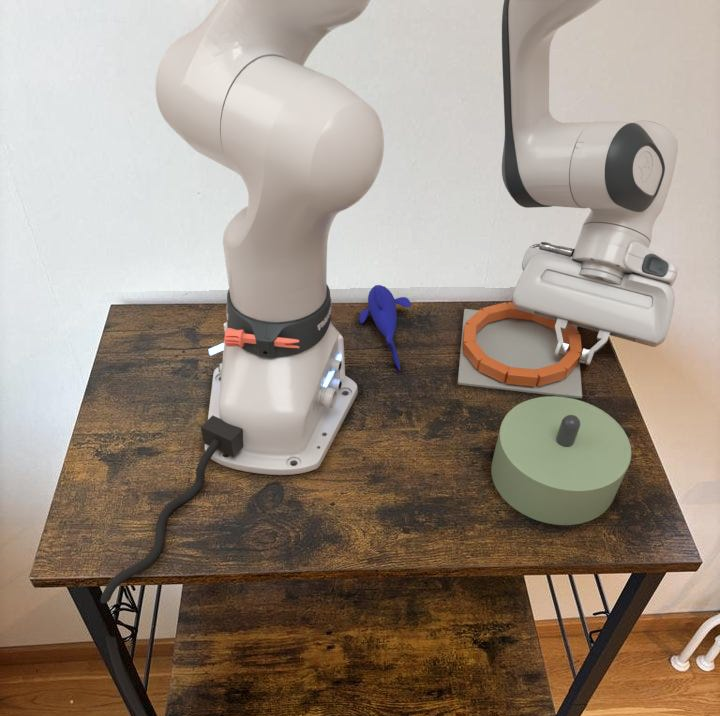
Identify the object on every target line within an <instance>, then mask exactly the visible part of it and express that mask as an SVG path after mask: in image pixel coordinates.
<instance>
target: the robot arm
mask: <svg viewBox="0 0 720 716" xmlns="http://www.w3.org/2000/svg"><path fill="white" fill-rule="evenodd" d="M601 1H602V0H503V5H502V15H501V61H502V63H501V64H502V83H503V84H502V87H503V89H502V90H503V91H502V92H503V116H504V117H503V118H504V139H503V140H504V141H503V148H502V157H501V178H502V181H503V185H504V187H505V189H506V190H507V192H508V194H509V195H510V197H511V198H512V199H513V201H514V202H515V203H516V204H517V205H518V206H520V207H523V208H527V209H531V208H532V209H533V208H552V207H561V208H574V209H590V212H589V214H588V216H586V219H585V220H584V222H583V223H582V227H581V230H580V232H579V235H578V238H577V240H576V243H575V247H574V248H572V247H567V246H563V245H556V244H552V243H550V242H546V241H540V243H536V244H532V245H530V246H529V247H528V248H527V249H526V251H525V253H524V256H523V259H522V262H521V270H522V272H521V274H520V276H519V278H518V281H517V283H516V285H515V288H514V290H513V292H512V295H511V302H513V304H514V306H515V308H516V309H517V310H520V311H524V312H528V313H531V314H535V315H539V316H542V317H546V318H550V319H553V320H557V321H556V324H555V331H556V336H557V341H558V344H557V347H556V350H555V353H554V356H557V357H561V358H563V357H564V356H565V355H566V354H567V353H566V352H567V351H568V349H569V344H567V343H563V337H562V332H561V330H562V331H566V328H567V325H568V324H571V325H575V326H577V327H579V328H582V329H585V330H586V329H587V330H588V331H589V330H590V331H593V332H597V336H596V341H597V343H595V344H594V345H593V346H592V347H590V349H587V348H583V347H582V354H581V357H580V359H579V363H580V364H582V365H584V366H590V365H591V362H592V360H593V358H594V354H596V353H597V352H598V351H600V350H601V349H602V348H603V347H604V346H605V345H606V344H607V343H608V341H609V337H610V336H612V337H615V338H619V339H622V340H627V341H630V342H633V343H637V344H640V345H644V346H648V347H651V348H656V347H659V346H660V345H661V344H663V343H664V342H665V340H666V337H667V335H668V332H669V329H670V326H671V322H672V318H673V314H674V313H673V312H674V308H675V301H676V297H675V292H674V289H673V288H672V287H673V285H674V284H675V282H676V279H677V276H678V267H677V266H676V265H675V263H674V262H671V260H668V259H667V258H665V257H663V256H662V255H660V254H658V253H657V252H655V251H654V250H652V249H650V245H651V242H652V237H653V236H652V235H653V234H652V233H653V228H654V224H655V222H656V221H657V219H658V217H659V216H660V214H661V212H662V211H663V208H664V207H665V203H666V200H667V197H668V194H669V191H670V187H671V183H672V180H673V176H674V172H675V168H676V163H677V158H678V157H677V156H678V149H679V148H678V147H679V146H678V145H679V144H678V140H677V138H676V136H675V135H674V133H673V132H672V131H671V130H670V129H668V127H666V126H665V125H662V124H660V123H657V122H654V121H650V120H636V121H632V122H630V121H623V120H620V121H619V120H616V121H615V120H614V121H612V120H609V121H602V120H601V121H591V122H589V121H587V122H561V121H559V120H557V119H556V118H554V117H553V116H552V114H551V112H550V51H551V45H552V41H553V38H554V37H555V34H556V33H557V32H558V31H559V29H560V28H562V27H563V26H565V25H566V24H568V23H570V22H572V21H573V20H575V19H576V18H578V17H579V16H582V14H584V13H586V12H588V11H589V10H591V9H592V8H594V7H595V6H596V5H597V4H598V3H600V2H601ZM370 2H371V0H218V2H217V3H216V5H215V6H214V7H213V9H212V10H211V11H210V12H209V14H208V15H207V16H206V17H205V19H204V20H203V21H202V22H201V23H200V24H199V25H198V26H196V27H195V28H194V29H193V30H191V31H190V32H188V33H186V34H184V35H183V36H181V37H179V38H178V39H176V40H174V42H172V43H171V44H170V46H169V47H168V48H167V49H166V51H165V52H164V54H163V56H162V58H161V60H160V61H159V65H158V68H157V72H156V76H155V97H156V102H157V106H158V109H159V112H160V114H161V116H162V118H163V119H164V121H165V122H166V123H167V124H168V126H169V127H170V128H171V129H172V130H173V131H174V132H175V133H176V134H177V136H179V137H180V139H182V140H183V141H184V142H185V143H186V144H187V145H189V146H190V147H191V148H192V150H194V151H196V152H197V153H198V154H200V155H202V156H204V157H206V158H208V159H210V160H212V161H213V162H215V163H218V164H219V165H221V166H223V167H225V168H227V169H229V170H230V171H233V172H234V173H236V174H237V175H238V176H240V178H241V179H242V181H243V183H244V184H245V187H246V190H247V194H248V195H247V196H248V201H247V206H245V207H243V208H242V209H241V210H240V211H238V212H237V213H236V214H235V215H233V217H232V219H231V220H230V221H229V222H228V224H227V225H226V227H225V229H224V232H223V237H222V245H223V253H224V261H225V268H226V276H227V283H228V290H227V293H226V306H225V312H226V313H225V314H226V322H224V323H223V329H224V340H223V342H222V343H220V344H218V345H215V346H212V347H210V348H208V355H210V356H213V355H215V354H217V353H220V352H222V362H221V363H219V365H218V366H217V367H216V368H215V369H214V371H213V373H212V374H213V375H212V381H211V382H212V383H211V390H210V399H209V400H210V401H209V407H208V415H207V420H206V421H205V422H204V423H203V424H202V425H201V426H200V429H201V434H202V439H203V444H204V452H203V454H202V456H201V458H200V460H199V461H198V464H197V466H196V470H195V471H196V472H195V481H194V483H193V484H192V486H191V487H190V488H189V489H187V491H186V492H184V493H182V494H181V495H179V496H178V497H176V498H174V499H173V500H171V501H170V502H169V503H168V504H166V505H165V506H164V508H162V510H161V512H160V514H159V515H158V518H157V520H156V526H155V539H154V544H153V546H152V548H151V550H150V552H149V553H148V554H147V555H146V556H145V558H143V559H142V560H140V561H139V562H137V563H135V564H133V565H131V566H129V567H127V568H125V569H123V570H122V571H120V572H119V573H118V574H116V575H115V576H113V577H112V578H111V580H109V582H108V583H107V584H106V586H105V588H104V590H103V592H102V594H101V596H100V600H99V601H100V603H101V604H108V602H110V600H111V598H112V596H113V594H114V593H115V591H116V590H117V588H118V587H119V586H120V585H121V584H122V583H124V582H125V581H127V580H129V579H130V578H131V577H134V576H135V575H137V574H139V573H141V572H143V571H145V570H146V569H147V568H149V567H150V566H152V564H154V563H155V562H156V560H157V559H158V558H159V557H160V555H161V553H162V551H163V550H164V549H163V548H164V544H165V536H166V534H165V533H166V526H167V525H166V524H167V521H168V519H169V517H170V515H171V514H172V513H173V512H174V511H175V510H177V508H179V507H180V506H182V505H184V504H185V503H188V502H189V501H190V500H191V499H193V498H194V497H196V495H198V493H199V491H201V489H202V488H203V486H204V484H205V473H206V469H207V466H208V464H209V462H210V460H212V461H213V462H215V463H217V464H219V465H221V466H223V467H225V468H229V469H233V470H236V471H241V472H246V473H253V474H259V475H268V476H269V475H272V476H291V475H299V474H305V473H308V472H312V471H315V470H318V469H319V468H320V466H321V465H322V463H323V461H324V459H325V458H326V455H327V454H328V452H329V449H330V448H331V446H332V444H333V442H334V440H335V438H336V437H337V434H338V433H339V430H340V429H341V427H342V425H343V423H344V421H345V419H346V417H347V416H348V414H349V412H350V409H352V408H351V407H352V406H353V404H354V402H355V400H356V399H357V396H358V394H359V389H358V388H359V387H358V384H357V382H356V381H354V380H353V379H352V378H350V377H349V376H347V375H346V365H345V364H346V363H345V345H344V344H345V343H344V337H343V336H342V334H341V333H340V332H339V330H338V329H337V328H336V327H335V326H334V324H333V323H332V321H331V320H332V311H333V310H332V308H333V302H332V297H331V290H330V287H329V285H328V283H327V279H328V278H327V270H328V269H327V268H328V267H327V266H328V265H327V264H328V263H327V262H328V241H329V234H330V230H331V227H332V224H333V222H334V220H335V218H336V217H337V215H338V214H339V213H341V212H343V211H346V210H348V209H350V208H351V207H352V206H354V205H356V204H357V203H358V202H360V201H361V200H362V199H363V198H364V196H365V195H367V193H368V192H369V191H370V189H371V188H372V187H373V185H374V183H375V182H376V179H377V177H378V175H379V173H380V171H381V167H382V163H383V159H384V151H385V134H384V130H383V125H382V120H381V119H380V116H379V114H378V112H377V111H376V109H374V108H373V106H371V105H370V104H369V103H368V102H366V101H365V100H364V99H363V98H362V97H360V96H359V95H358V94H356V93H355V92H354V91H352V89H350V88H348V87H347V86H346V85H344V84H343V83H342V82H341V81H339V80H338V79H336V78H335V77H331V76H329V75H326V74H324V73H323V72H320V71H317V70H314V69H312V68H310V67H307V66H305V64H306V62H307V60H308V59H309V57H310V55H311V54H312V52H313V51H314V49H315V48H316V47H317V46H318V44H319V43H320V42H321V41H322V40H323V39H324V38H325V37H326V36H327V35H329V33H331V32H332V31H334V30H336V29H337V28H339V27H342V26H344V25H347V24H350V23H352V22H354V21H355V20H357V19H358V18H359V17H360V16H361V15H362V14H363V13H364V12H365V10H366V9H367V7H368V6H369V4H370ZM105 640H106V644H107V645H106V646H107V650H108V653H109V656H110V661H111V664H112V667H113V670H114V673H115V676H116V678H117V681H118V683H119V685H120V687H121V690H122V692H123V694H124V696H125V698H126V699H127V701H128V703H129V705H130V707H131V708H132V710H133V711H134V713H135V715H136V716H147V715H146V713H145V711H144V709H143V708H142V706H141V705H140V703H139V701H138V698H137V697H136V695H135V692H134V691H133V689H132V686H131V685H130V683H129V680H128V677H127V675H126V672H125V668H124V666H123V662H122V659H121V655H120V651H119V647H118V642H117V637H115V636H109V635H105Z"/></svg>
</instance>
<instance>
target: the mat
mask: <svg viewBox="0 0 720 716" xmlns="http://www.w3.org/2000/svg"><path fill="white" fill-rule="evenodd" d="M479 310H480V309H472V308H471V309H469V308H464V309H463V318H462V329H461V341H460V350H459V351H460V353H459V361H458V365H459V366H458V373H457V374H458V375H457V385H459V386H468V387H477V388H484V389H485V388H486V389H493V390H503V391H512V392H521V393H530V394H537V395H545V396H557V397H567V398H572V399H583V388H582V386H583V385H582V375H581V374H582V373H581V363H578V365H577V366H576V367H575V368H574V369H573V370H572V371H571V372H570V374H569V375H568V376H567V377H566V378H564V379H563V380H559V381H556V382H552V383H549V384H546V385H542V386H538V385H537V384H536V387H534V386H523V385H513V384H506V381H505V382H504V383H502V382H500V381H498V380H496V379H494V378H492V377H490V376H488V375H486V374H484V373H482V372H479V371H478V370H479V369H476V368H475V367H474V366H473V365H472V363H471V362H470V361H469V359H468V358H467V357H466V355H465V354H464V353H463V350H462V347H463V333H464V326H465V324H466V322H467V321H468V320H469V319H470V318H471V317H472V316H473V315H474V314H475V313H476V312H478V311H479ZM573 326H574V327H575V328H576V330H577V331H578V326H575V325H573ZM476 342H477V344H478V345H479V346H480V347H481V349H482V350H483V351H484V352H485V354H486V355H487V356H488V357H490V358H492V359H494V360H496V361H498V362H501V363H503V364H505V365H507V366H509V367H516V368H527V369H539V368H542V367H546V366H549V365H553V364H557V363H559V362H560V361H561V359H562V358H561V357H557V356H554V353H555V350H556V347H557V344H558V341H557V336H556V332H555V331H554V330H553V329H551V328H549V327H547V326H545V325H542V324H540V323H538V322H535V321H533V320H527V319H516V318H505V319H501V320H498V321H494V322H490V323H487V324H486V325H485V326H484V327H483V328H482V329H481V330H480V331H478V332H477V333H476ZM563 343H565V342H564V340H563ZM566 353H567V352H566Z"/></svg>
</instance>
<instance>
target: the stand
mask: <svg viewBox="0 0 720 716" xmlns="http://www.w3.org/2000/svg"><path fill="white" fill-rule="evenodd" d="M630 442H631V441H630V440H629V438H628V435H627V434H626V431H625V430H624V429H623V427H622V426H621V425H620V424H619V423H618V421H616V419H615V418H613V417H612V416H611V415H610V414H608V413H607V412H605V411H604V410H603V409H600V408H599V407H597V406H595V405H594V404H591V403H588V402H586V401H583V400H579V399H577V398H571V397H563V396H554V395H546V396H538V397H533V398H531V399H527V400H525V401H522V402H520V403H518V404H516V405H515V406H514V407H513V408H512V409H510V410H509V411H508V412H507V413H506V415H505V416H504V418H503V419H502V421H501V424H500V427H499V431H498V435H497V440H496V444H495V448H494V452H493V457H492V460H491V468H490V469H491V471H490V472H491V473H490V474H491V478H492V482H493V484H494V487H495V489H496V490H497V492H498V494H499V496H501V498H502V499H503V500H504V501H505V502H506V503H507V504H508V505H509V506H510V507H512V508H513V509H514V510H516V511H517V512H519V513H520V514H522V515H524V516H526V517H528V518H530V519H532V520H535V521H537V522H541V523H544V524H549V525H554V526H575V525H580V524H585V523H588V522H590V521H593V520H595V519H597V518H599V517H601V515H603V514H604V513H605V512H606V511H607V510H608V509H609V508H610V507H611V505H612V504H613V502H614V500H615V497H616V495H617V493H618V491H619V488H620V486H621V484H622V482H623V480H624V477H625V476H626V473H627V471H628V469H629V466H630V464H631V460H632V446H631V443H630Z"/></svg>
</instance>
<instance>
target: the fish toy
mask: <svg viewBox="0 0 720 716" xmlns="http://www.w3.org/2000/svg"><path fill="white" fill-rule="evenodd" d="M397 305H399V306H402V307H405V308H410V307H411V305H412V304H411V301H410V299H409V298H408V297H406V296H402V297H396V298H395V297H394V295H393V294H392V292H391V291H390V290H389V289H388V288H387V287H386V286H384V285H382V284H375V285H374V286H372V288H371V289H370V290H369V293H368V297H367V306H368V307H367V308H366V309H364V310H362V311H361V312H360V313H359V317H358V320H359V323H360V324H361V325H362V324H364V323H365V322H366V320H367V318H368V317H369V314H370V316H371V317H372V320H373V322H374V324H375V326H376V328H377V330H378V331H379V332H380V334H382V335H383V336H384V338H385V341H386V344H387V347H388V349H389V351H390V354H391V356H392V360H393V362H394V365H395V366H396V368H397V370H398V371H399V372H401V369H402V368H401V364H400V363H401V362H400V359H399V354H398V351H397V348H396V345H395V342H394V337H395V334H396V330H397V323H398V319H397V318H398V313H397V312H398V311H397Z"/></svg>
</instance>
